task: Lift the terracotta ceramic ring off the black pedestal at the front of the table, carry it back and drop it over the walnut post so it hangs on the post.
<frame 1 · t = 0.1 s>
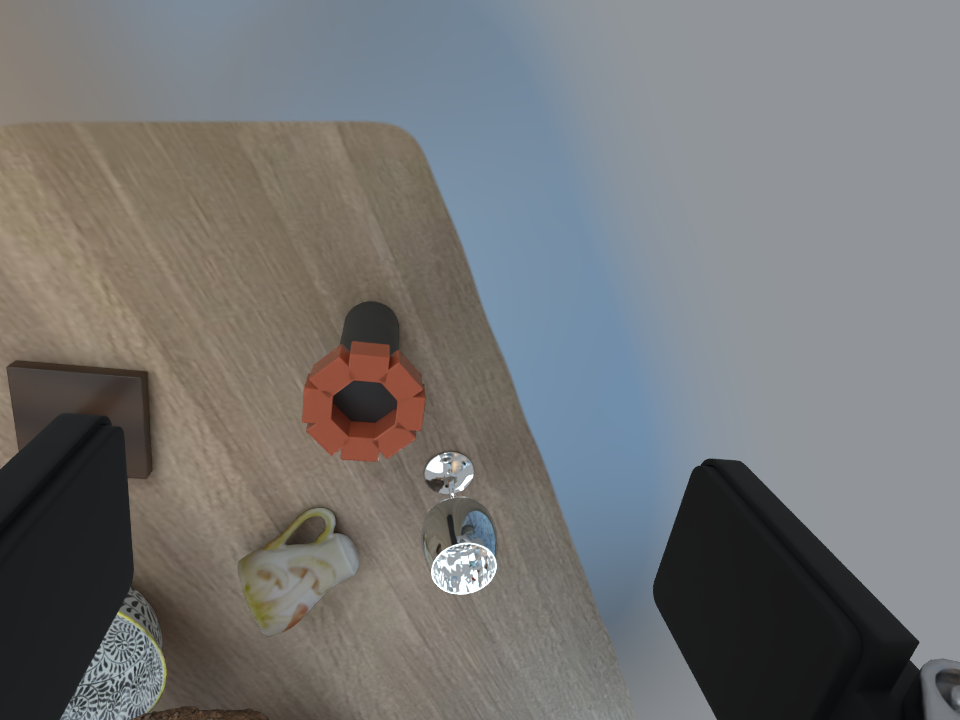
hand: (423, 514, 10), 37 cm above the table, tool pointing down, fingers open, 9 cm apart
post: (87, 418, 46), on the table
mug: (305, 547, 54), on the table
wineglass: (448, 471, 53), on the table
ring: (365, 394, 36), point 12 cm above the table, touching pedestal
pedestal: (371, 326, 47), on the table
bowl: (98, 600, 53), on the table, touching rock
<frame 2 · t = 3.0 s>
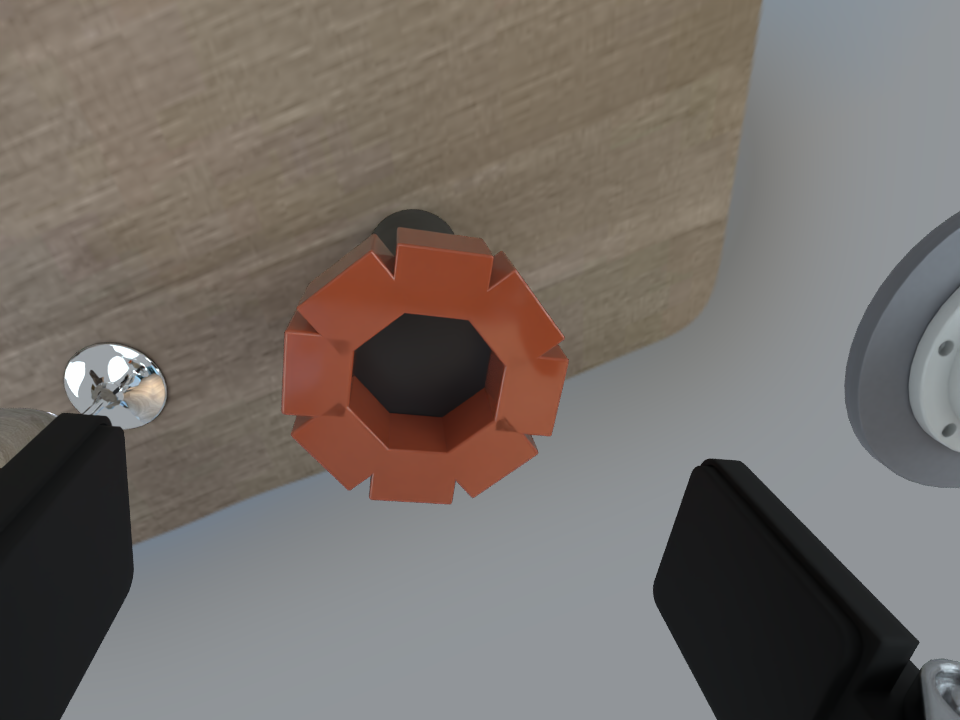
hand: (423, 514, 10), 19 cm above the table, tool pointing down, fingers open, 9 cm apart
wineglass: (118, 385, 28), on the table
ring: (424, 356, 16), point 12 cm above the table, touching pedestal
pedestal: (413, 255, 27), on the table
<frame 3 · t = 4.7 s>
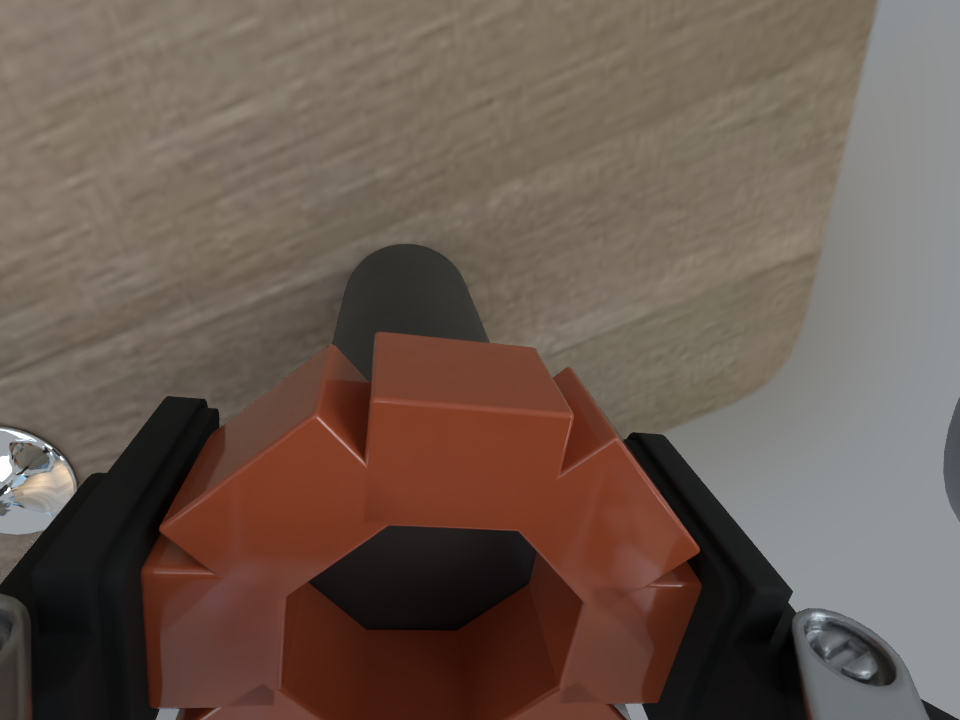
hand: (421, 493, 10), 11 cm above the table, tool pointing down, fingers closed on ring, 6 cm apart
wineglass: (10, 478, 21), on the table
ring: (425, 540, 9), point 12 cm above the table, touching gripper, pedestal
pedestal: (407, 305, 20), on the table
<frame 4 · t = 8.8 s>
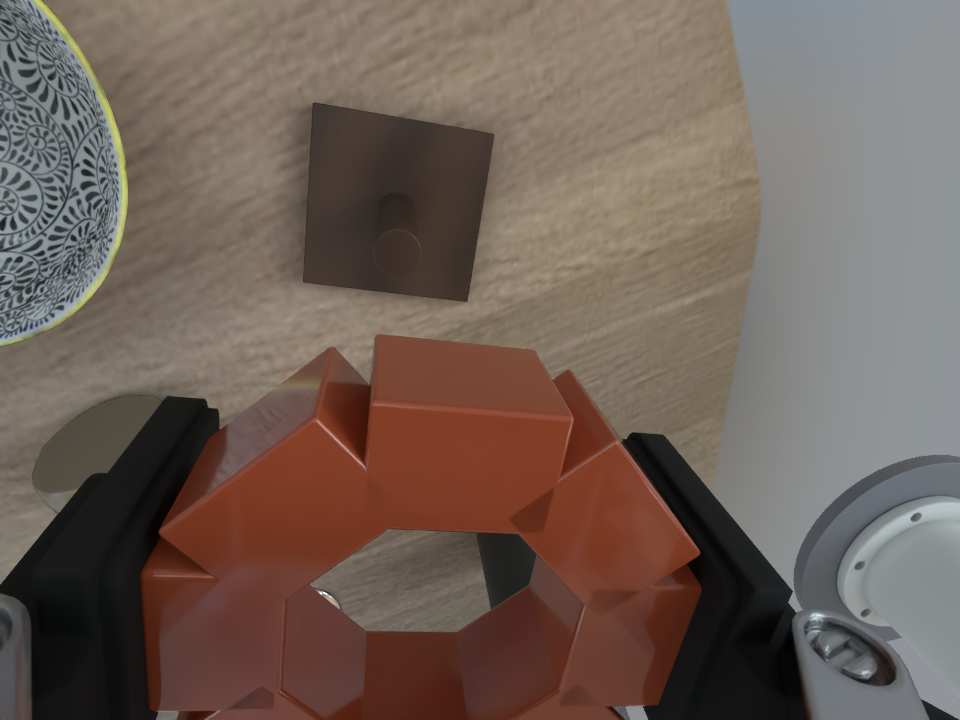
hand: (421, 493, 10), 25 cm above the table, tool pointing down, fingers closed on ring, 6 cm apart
post: (396, 206, 32), on the table
mug: (168, 458, 36), on the table
ring: (425, 543, 9), point 26 cm above the table, touching gripper
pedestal: (506, 530, 42), on the table
bowl: (11, 139, 29), on the table, touching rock
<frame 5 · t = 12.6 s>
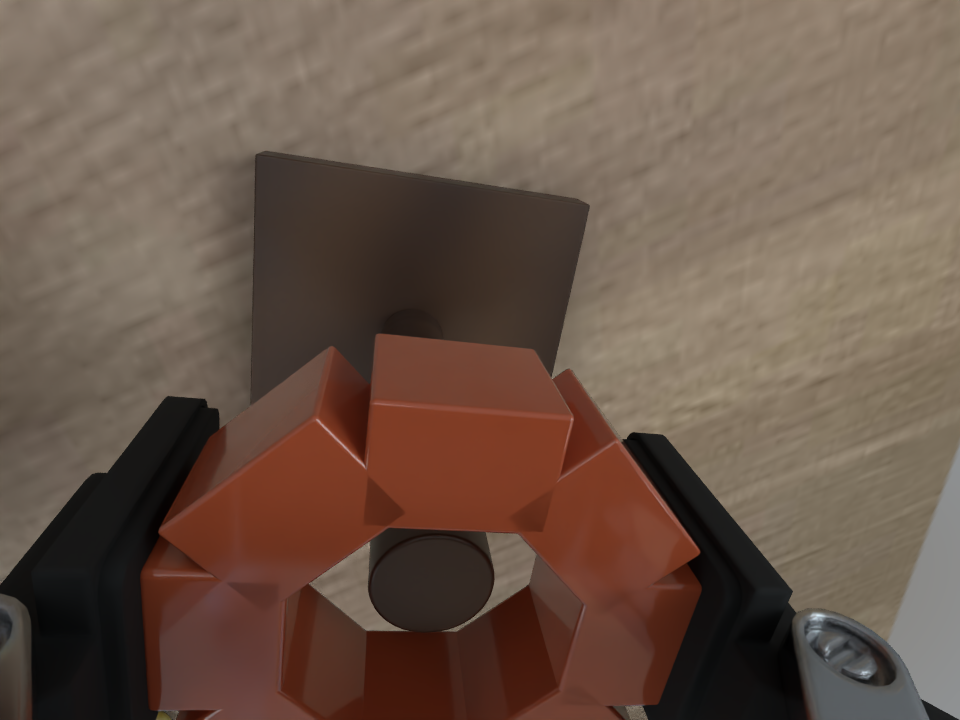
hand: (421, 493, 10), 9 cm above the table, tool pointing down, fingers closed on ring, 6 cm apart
post: (410, 323, 19), on the table
ring: (425, 542, 9), point 10 cm above the table, touching gripper
when the fingers open (9 cm above the table, at t = 13.1 s): ring drops 9 cm, resting on post.
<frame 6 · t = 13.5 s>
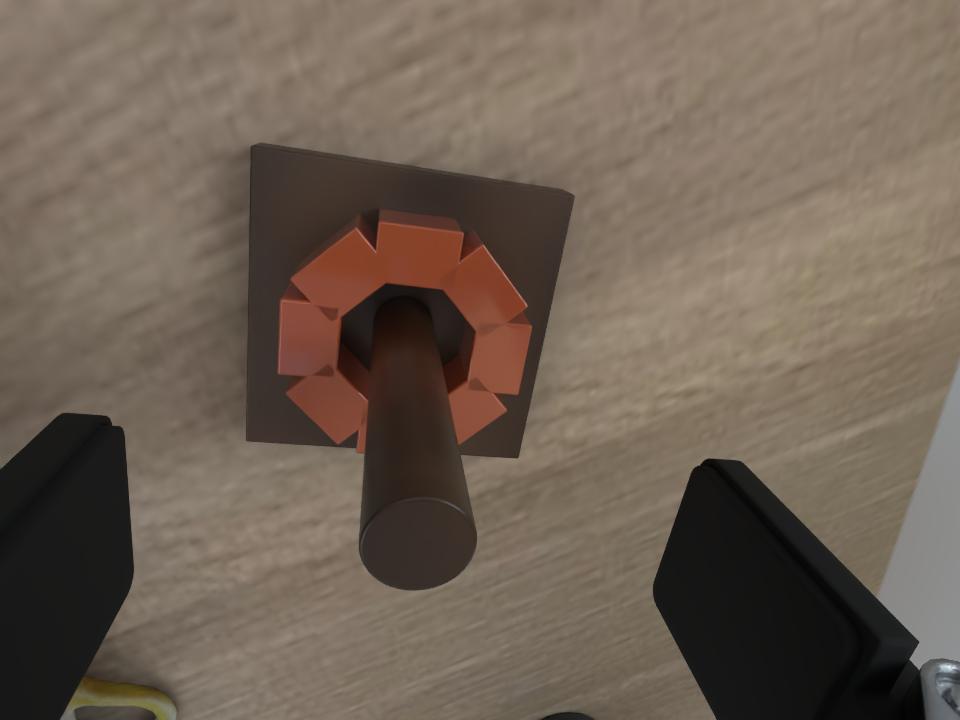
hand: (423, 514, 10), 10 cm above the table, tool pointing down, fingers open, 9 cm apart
post: (402, 311, 19), on the table
mug: (48, 685, 23), on the table
ring: (404, 325, 18), point 1 cm above the table, touching post
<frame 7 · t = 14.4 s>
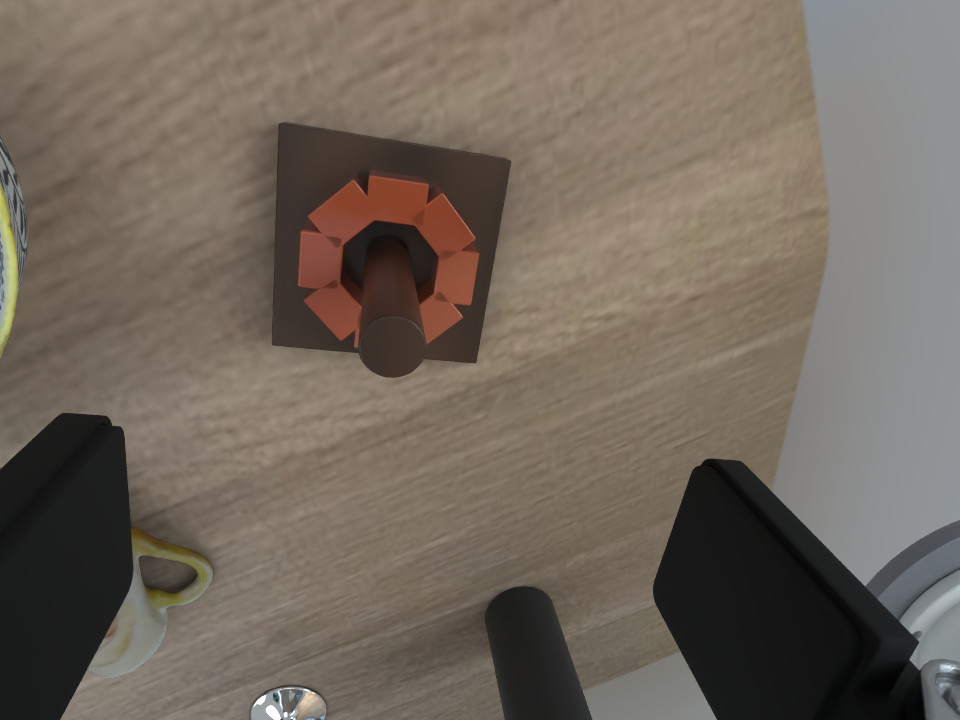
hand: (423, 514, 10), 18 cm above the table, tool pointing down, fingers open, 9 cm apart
post: (387, 249, 26), on the table
mug: (113, 549, 30), on the table
wineglass: (289, 708, 36), on the table
ring: (388, 257, 25), point 1 cm above the table, touching post
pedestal: (519, 613, 36), on the table
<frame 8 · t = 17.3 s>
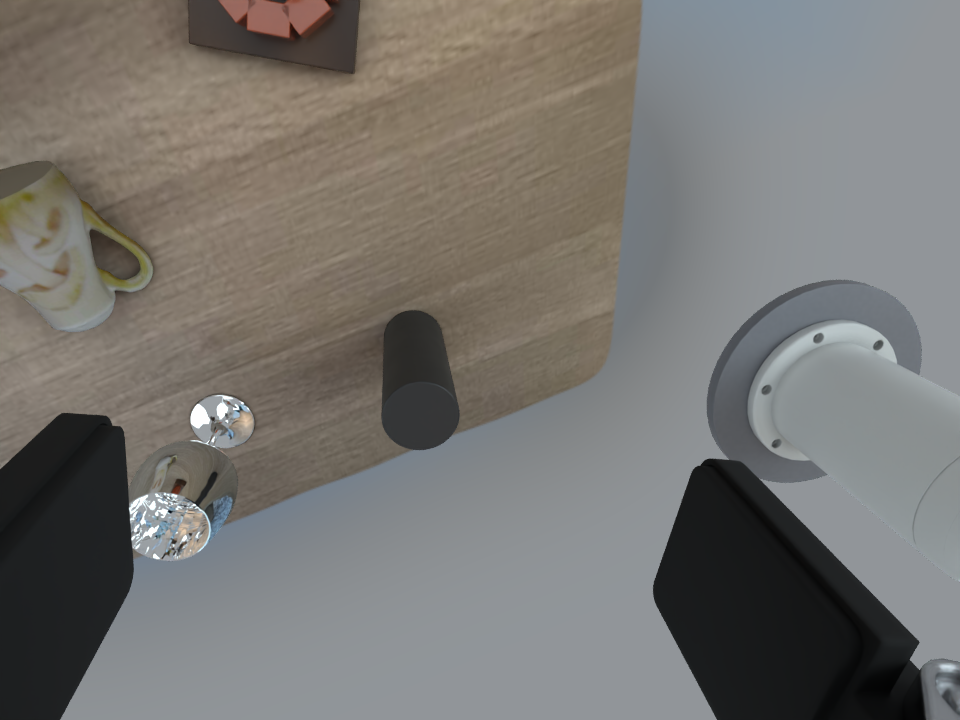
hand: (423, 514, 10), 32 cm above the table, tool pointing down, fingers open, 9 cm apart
mug: (72, 242, 38), on the table
wineglass: (223, 420, 44), on the table
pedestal: (413, 337, 43), on the table
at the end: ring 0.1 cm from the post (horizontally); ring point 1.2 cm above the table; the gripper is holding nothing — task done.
